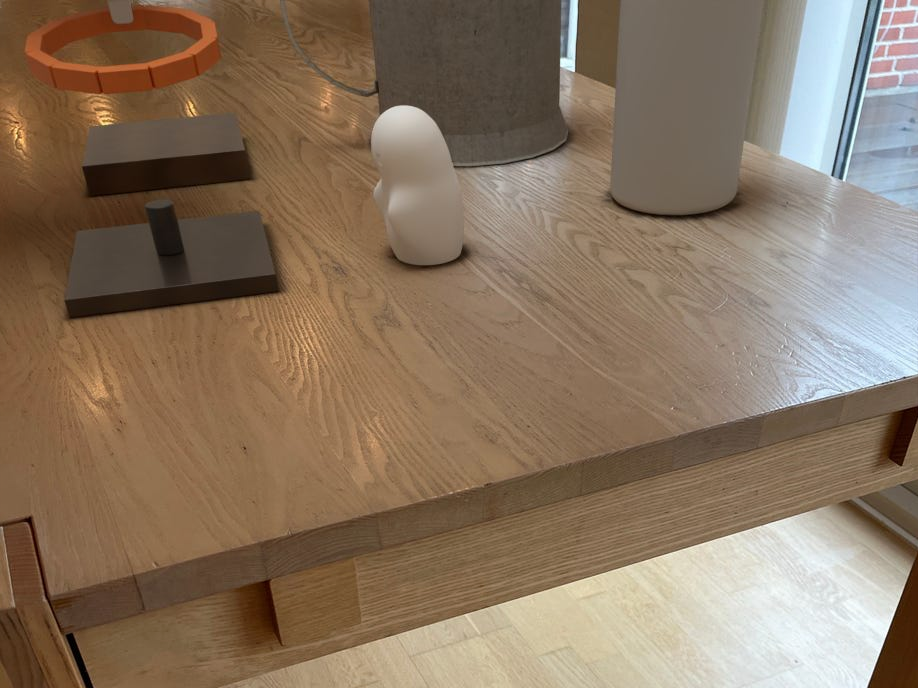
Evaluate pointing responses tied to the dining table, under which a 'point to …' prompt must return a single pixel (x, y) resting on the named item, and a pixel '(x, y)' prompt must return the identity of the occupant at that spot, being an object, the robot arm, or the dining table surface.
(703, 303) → the dining table surface
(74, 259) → the peg stand
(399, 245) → the figurine
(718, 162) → the cylinder vase
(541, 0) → the pitcher
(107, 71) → the ring
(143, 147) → the stand
